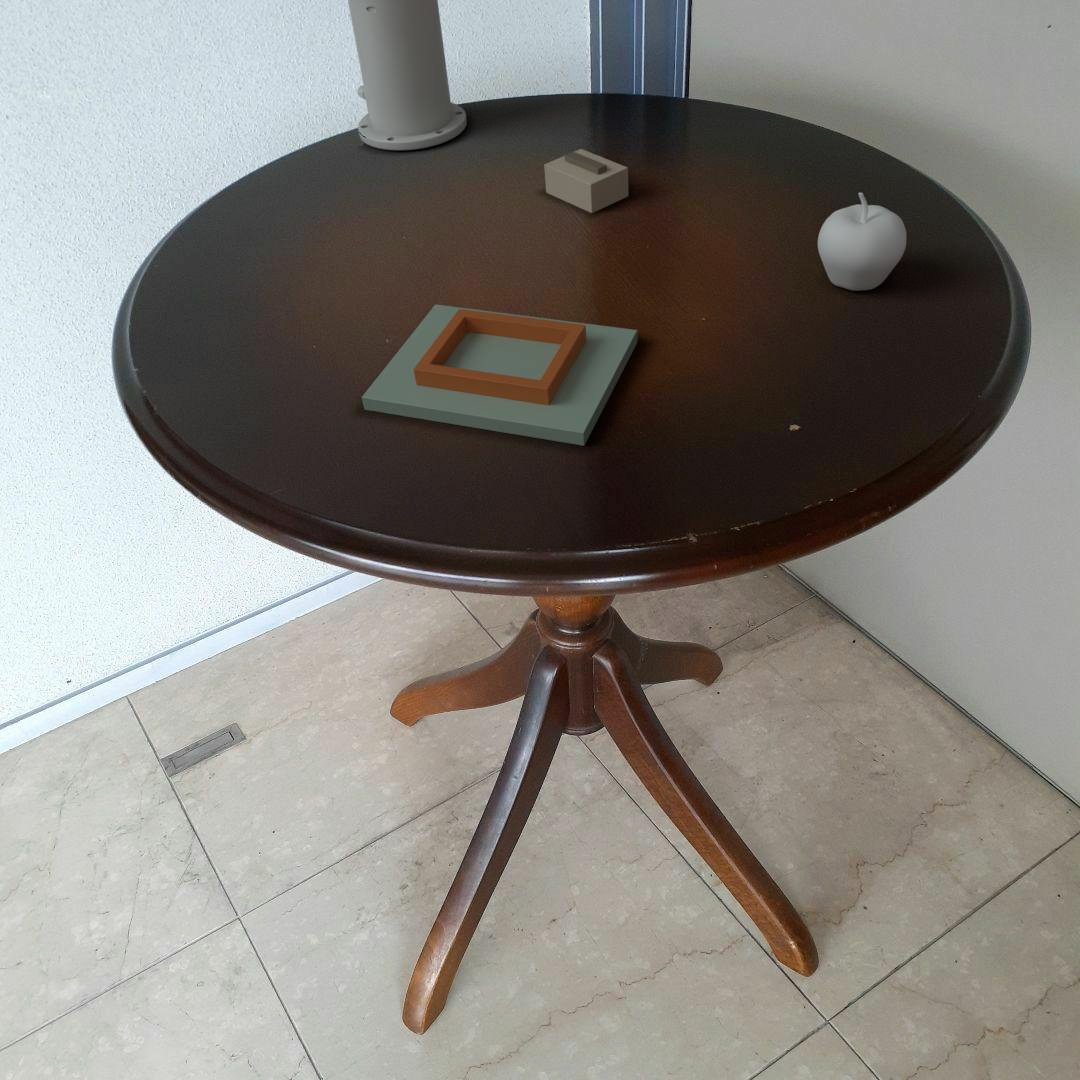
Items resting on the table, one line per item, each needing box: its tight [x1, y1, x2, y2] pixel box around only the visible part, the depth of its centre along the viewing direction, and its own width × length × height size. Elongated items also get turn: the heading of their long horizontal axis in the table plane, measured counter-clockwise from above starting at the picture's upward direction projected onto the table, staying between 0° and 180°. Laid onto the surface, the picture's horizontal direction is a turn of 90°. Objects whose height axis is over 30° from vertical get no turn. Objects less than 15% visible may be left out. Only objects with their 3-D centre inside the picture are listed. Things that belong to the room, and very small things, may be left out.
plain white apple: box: [816, 192, 907, 292], centre depth 85 cm, size 7×7×8 cm
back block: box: [543, 148, 629, 214], centre depth 103 cm, size 7×5×4 cm
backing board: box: [361, 304, 638, 447], centre depth 81 cm, size 18×14×3 cm
